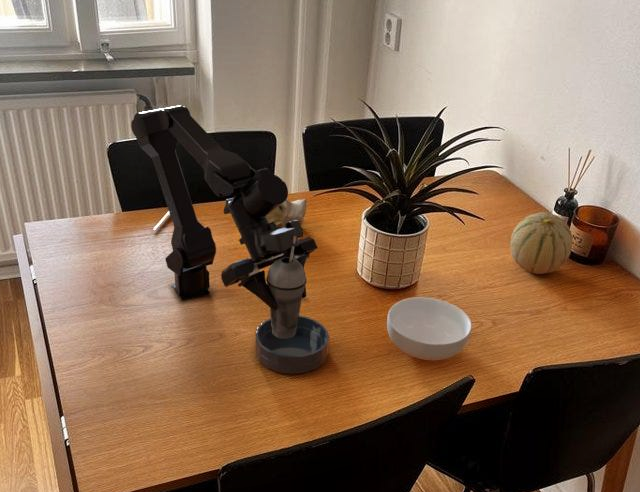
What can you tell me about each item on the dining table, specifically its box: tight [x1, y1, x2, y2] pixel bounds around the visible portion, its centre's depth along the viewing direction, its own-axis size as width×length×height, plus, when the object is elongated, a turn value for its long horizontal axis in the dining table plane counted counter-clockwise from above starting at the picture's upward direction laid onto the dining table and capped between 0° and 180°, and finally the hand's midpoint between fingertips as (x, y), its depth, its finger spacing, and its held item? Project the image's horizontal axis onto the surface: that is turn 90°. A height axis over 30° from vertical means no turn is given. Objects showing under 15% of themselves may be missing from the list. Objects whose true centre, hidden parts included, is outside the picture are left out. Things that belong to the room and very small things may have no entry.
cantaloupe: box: [509, 211, 573, 275], centre depth 170 cm, size 15×15×15 cm
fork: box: [152, 210, 171, 233], centre depth 182 cm, size 3×20×2 cm, turn 170°
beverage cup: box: [265, 236, 308, 339], centre depth 127 cm, size 7×7×20 cm
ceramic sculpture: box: [267, 198, 307, 229], centre depth 180 cm, size 11×9×15 cm
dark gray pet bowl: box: [254, 315, 330, 375], centre depth 136 cm, size 14×14×4 cm
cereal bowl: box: [386, 296, 473, 361], centre depth 141 cm, size 17×17×7 cm
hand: (290, 303), depth 128 cm, fingers closed on beverage cup, 6 cm apart
